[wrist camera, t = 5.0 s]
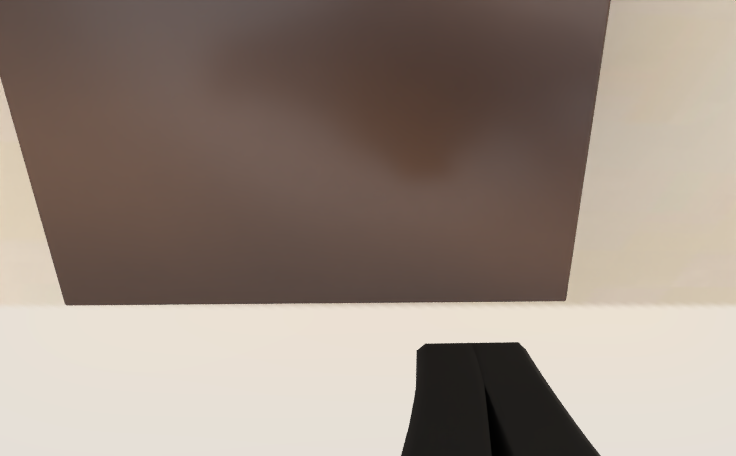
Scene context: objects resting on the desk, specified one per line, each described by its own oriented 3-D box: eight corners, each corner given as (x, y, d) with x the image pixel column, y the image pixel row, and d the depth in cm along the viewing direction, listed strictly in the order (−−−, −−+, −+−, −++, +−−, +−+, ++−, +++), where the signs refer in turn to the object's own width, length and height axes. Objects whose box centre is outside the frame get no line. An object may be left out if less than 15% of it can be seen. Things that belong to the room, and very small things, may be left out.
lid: (558, 283, 15) (566, 301, 14) (77, 287, 15) (64, 306, 14) (656, -411, 9) (676, -431, 9) (-106, -390, 9) (-140, -408, 9)
